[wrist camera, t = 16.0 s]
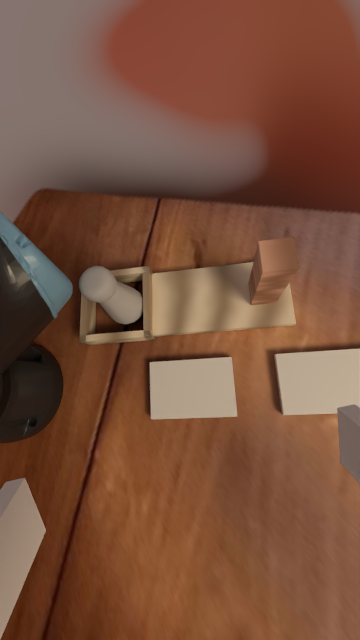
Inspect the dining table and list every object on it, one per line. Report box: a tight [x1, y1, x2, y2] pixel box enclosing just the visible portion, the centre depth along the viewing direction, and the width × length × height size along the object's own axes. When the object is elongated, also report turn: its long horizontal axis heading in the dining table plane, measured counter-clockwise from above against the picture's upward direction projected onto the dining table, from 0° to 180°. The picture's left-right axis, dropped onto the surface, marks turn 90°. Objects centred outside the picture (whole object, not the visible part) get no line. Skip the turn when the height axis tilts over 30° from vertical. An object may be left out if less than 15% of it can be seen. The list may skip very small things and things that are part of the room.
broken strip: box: [150, 349, 360, 419], centre depth 36 cm, size 32×8×1 cm, turn 93°
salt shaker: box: [79, 266, 143, 324], centre depth 36 cm, size 6×6×13 cm
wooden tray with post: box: [79, 237, 299, 345], centre depth 35 cm, size 32×11×13 cm, turn 93°
